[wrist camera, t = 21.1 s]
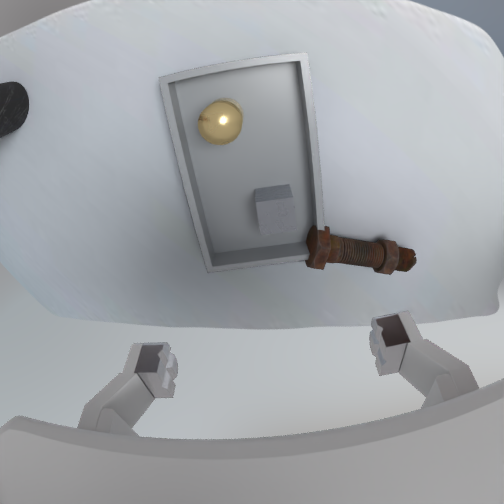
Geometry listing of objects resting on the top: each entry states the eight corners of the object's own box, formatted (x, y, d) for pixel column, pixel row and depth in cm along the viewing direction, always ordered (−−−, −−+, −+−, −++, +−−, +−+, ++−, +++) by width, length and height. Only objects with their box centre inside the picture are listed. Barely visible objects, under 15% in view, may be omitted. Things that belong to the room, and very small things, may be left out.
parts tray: (301, 54, 29) (307, 52, 26) (320, 242, 41) (325, 257, 38) (167, 76, 30) (158, 77, 27) (210, 256, 42) (207, 272, 39)
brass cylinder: (240, 94, 31) (238, 99, 26) (246, 129, 33) (245, 141, 28) (203, 101, 31) (193, 107, 26) (210, 135, 33) (202, 148, 28)
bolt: (398, 250, 43) (303, 235, 41) (417, 233, 39) (316, 214, 37) (404, 287, 41) (304, 276, 39) (425, 272, 36) (318, 258, 34)
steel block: (289, 184, 36) (293, 197, 33) (292, 214, 38) (296, 230, 35) (255, 188, 37) (255, 202, 33) (260, 218, 39) (261, 235, 35)
